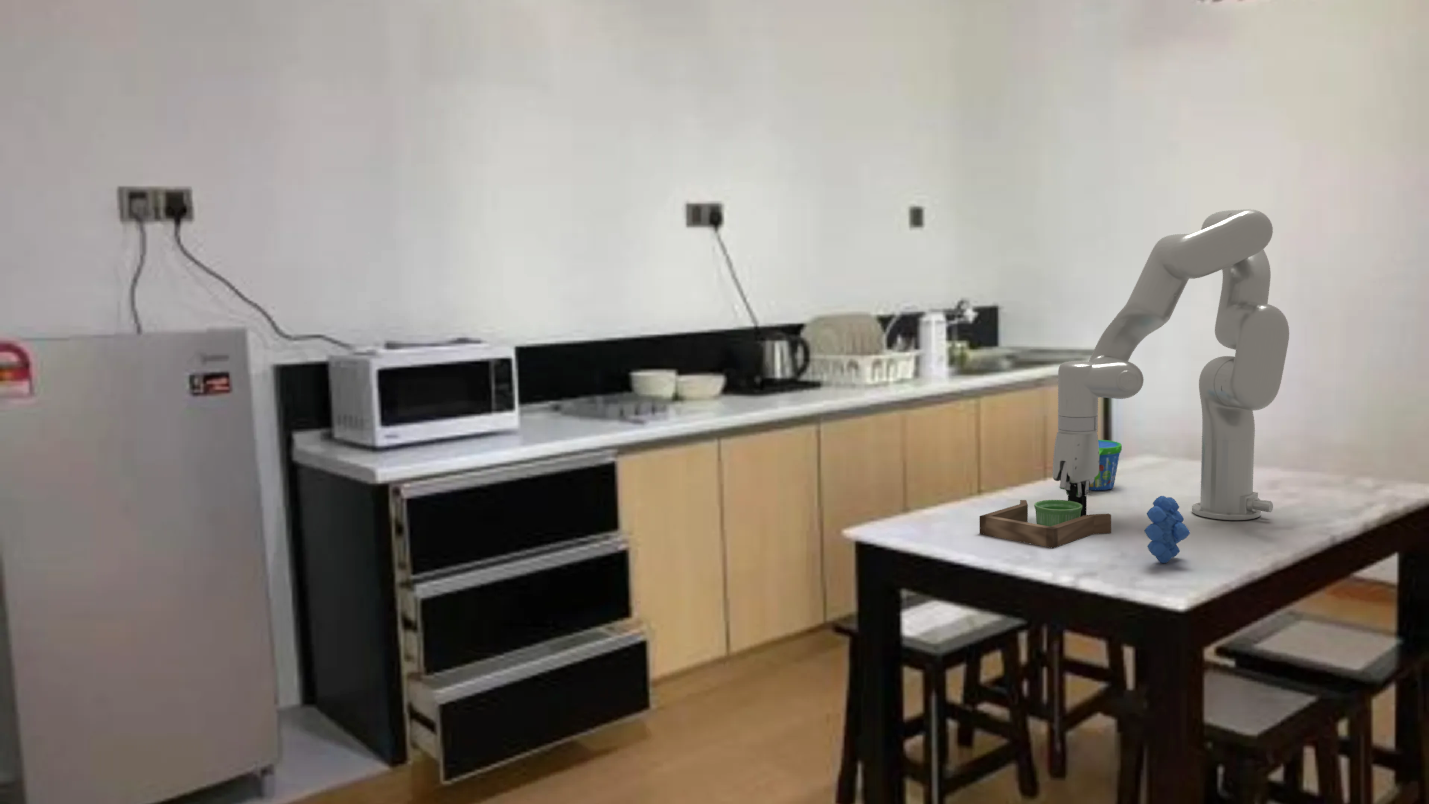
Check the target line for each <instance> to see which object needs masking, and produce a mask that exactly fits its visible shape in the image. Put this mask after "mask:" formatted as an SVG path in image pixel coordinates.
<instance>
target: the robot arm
mask: <svg viewBox="0 0 1429 804" xmlns="http://www.w3.org/2000/svg"><path fill="white" fill-rule="evenodd" d="M1273 230H1274V226H1273V224H1272V221H1271V220H1270V218H1269V217H1268V215H1266V214H1265V213H1263V212H1262V211H1259V210H1256V209H1251V208H1249V209H1238V210H1237V209H1235V210H1234V209H1231V210H1221V211H1218V212H1215V213H1212V214H1210V215H1209V216H1208V217H1206V218H1205V220H1204V221H1203V222H1202V225H1201V229H1200V230H1197V231H1195V232H1191V233H1177V234H1169V235H1166V236H1164V237H1161V238H1159V240H1158V241H1157V242H1156V243H1155V245H1154V246H1153V248H1152V249H1151V252H1150V254H1149V256H1148V258H1147V260H1146V262H1145V264H1144V267H1143V268H1142V270H1141V272H1140V275H1139V277H1138V279H1137V281H1136V283H1135V286H1134V287H1133V290H1132V292H1131V294H1130V295H1129V298H1128V299H1127V302H1126V303H1125V305H1124V306H1123V307H1122V308H1121V309H1120V311H1119V312H1118V313H1117V314H1116V316H1115V317H1114V318H1113V320H1112V321H1111V322H1110V324H1108V326H1107V327H1105V329H1104V331H1103V332H1102V334H1101V335H1100V337H1099V340H1098V341H1097V344H1096V345H1095V346H1094V349H1093V351H1092V354H1091V356H1090V358H1089V361H1087V360H1085V361H1083V360H1073V361H1065V362H1062V363H1061V364H1060V365H1059V366H1058V371H1057V374H1058V375H1057V383H1058V384H1057V388H1058V389H1057V432H1056V435H1055V436H1056V437H1055V441H1054V445H1053V446H1054V447H1053V448H1054V449H1053V458H1052V459H1053V460H1052V479H1053V480H1054V481H1056V482H1060V484H1059V489H1060V490H1064V491H1065V493H1066V496H1067V501H1073V502H1077V503H1080V504H1081V505H1082V510H1081V516H1084V515H1087V508H1088V507H1087V503H1088V502H1087V499H1088V497H1087V496H1088V495H1089V490H1088V489H1089V485H1090V484H1091V483H1093V482H1094V477H1096V476H1097V475H1098V473H1099V444H1098V440H1099V437H1098V431H1099V428H1098V427H1099V398H1105V399H1106V398H1107V399H1116V400H1125V399H1126V400H1127V399H1129V398H1132V397H1134V396H1137V395H1138V393H1139V392H1140V391H1141V390H1142V388H1143V386H1144V380H1145V379H1144V375H1143V372H1142V371H1141V370H1142V369H1140V367H1138V366H1137V365H1136V364H1134V363H1133V362H1131V361H1130V359H1131V356H1132V355H1133V353H1134V351H1135V350H1136V348H1137V347H1138V345H1139V344H1140V343H1141V342H1142V341H1143V340H1144V339H1145V338H1146V337H1147V336H1149V335H1150V334H1152V333H1154V332H1155V331H1157V330H1159V329H1160V328H1162V327H1164V325H1165V324H1167V323H1168V321H1169V320H1170V319H1171V317H1172V316H1173V313H1174V311H1175V309H1176V307H1177V304H1178V302H1179V300H1180V298H1181V295H1182V294H1183V292H1184V290H1185V288H1186V286H1187V284H1188V281H1189V280H1194V279H1201V278H1203V277H1206V276H1209V275H1212V274H1214V273H1217V272H1219V271H1222V284H1221V291H1220V296H1219V302H1218V308H1217V313H1216V318H1215V325H1214V334H1215V338H1216V341H1218V343H1220V344H1221V345H1222V346H1224V347H1225V348H1228V349H1230V350H1235V352H1234V353H1235V354H1234V356H1231V355H1223V356H1217V357H1215V358H1213V359H1211V360H1210V361H1208V362H1207V363H1206V364H1205V365H1204V367H1203V368H1202V370H1201V372H1200V375H1199V378H1198V390H1199V396H1200V397H1199V398H1200V404H1201V415H1202V416H1201V417H1202V420H1201V421H1202V425H1201V427H1202V430H1201V431H1202V433H1201V455H1200V456H1201V460H1200V462H1201V464H1200V465H1201V466H1200V500H1199V502H1197V503H1194V504H1193V505H1191V512H1192V513H1193V514H1194V515H1197V516H1199V517H1202V518H1207V519H1213V520H1220V521H1221V520H1222V521H1247V520H1254V519H1257V518H1259V517H1260V516H1261V515H1262V512H1265V513H1272V512H1273V510H1274V505H1273V502H1272V501H1271V500H1267V499H1265V500H1264V499H1260V498H1259V492H1258V491H1257V492H1256V491H1254V466H1255V465H1254V464H1255V462H1254V460H1255V458H1254V457H1255V436H1256V435H1255V434H1256V433H1255V432H1256V430H1255V425H1256V424H1255V416H1254V411H1259V410H1262V409H1265V408H1266V407H1268V406H1270V405H1271V404H1272V402H1274V400H1275V399H1276V398H1277V395H1278V393H1279V390H1280V387H1281V384H1282V379H1283V375H1284V368H1285V363H1286V357H1287V353H1288V348H1289V341H1290V327H1289V322H1288V319H1287V317H1286V315H1285V314H1284V312H1283V311H1282V310H1280V309H1279V308H1278V307H1277V306H1274V305H1272V304H1270V303H1269V296H1270V286H1271V264H1270V262H1269V259H1268V256H1267V253H1266V252H1265V248H1266V247H1267V246H1268V245H1269V243H1270V241H1271V240H1272V238H1273V233H1274V231H1273ZM1081 516H1080V517H1081Z"/></svg>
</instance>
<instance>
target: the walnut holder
mask: <svg viewBox="0 0 1429 804" xmlns="http://www.w3.org/2000/svg"><path fill="white" fill-rule="evenodd" d="M1019 501H1020V502H1019V504H1015V505H1012V506H1009V507H1006V508H1002V509H999V510H996V511H992V512H989V513H986V514H982V515H979V534H980V535H983V536H984V535H985V536H989V537H995V538H999V539H1004V540H1009V541H1015V542H1021V543H1024V542H1025V544H1029V543H1031V545H1035V546H1039V545H1041V546H1040V547H1044V546H1046V548H1049V547H1050V549H1055V548H1058V547H1060V546H1059V545H1061V546H1063V544H1064V545H1066V544H1070V543H1071V542H1075V541H1078V540H1080V539H1083V538H1086V537H1089V536H1092V535H1096V534H1097V535H1098V533H1099V534H1111V533H1112V514H1111V513H1093V514H1092V513H1091V514H1090V513H1089V514H1086V515H1084V516H1081V517H1078V518H1075V519H1072V520H1069V521H1066V522H1063V523H1060V524H1057V525H1054V526H1051V527H1050V526H1044V525H1039V524H1037V523H1034V522H1033V523H1032V522H1028V521H1029V516H1028V515H1029V514H1028V513H1029V512H1028V511H1029V508H1028V507H1029V505H1028V501H1027V499H1020V500H1019ZM1077 539H1078V540H1077ZM1057 546H1058V547H1057ZM1051 547H1052V548H1051ZM1054 547H1055V548H1054Z"/></svg>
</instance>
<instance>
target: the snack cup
mask: <svg viewBox="0 0 1429 804" xmlns="http://www.w3.org/2000/svg"><path fill="white" fill-rule="evenodd" d="M1098 444H1099V473H1098V475H1097V476H1096V477H1094V482H1093V483H1091V484H1090V485H1089V489H1088V491H1108V490H1112V489H1113V488H1114V486H1115V484H1116V483H1115V482H1116V476H1117V471H1118V465H1119V459H1120V454H1121V452H1122V450H1123V449H1122V443H1121V442H1118V441H1114V440H1107V439H1098Z"/></svg>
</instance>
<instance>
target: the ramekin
mask: <svg viewBox="0 0 1429 804" xmlns="http://www.w3.org/2000/svg"><path fill="white" fill-rule="evenodd" d="M1033 506H1034V509H1035V517H1036V518H1035V521H1036V524H1039V525H1044V526H1050V527H1051V526H1054V525H1057V524H1060V523H1063V522H1066V521H1069V520H1072V519H1075V518H1078V517H1080V516H1081V510H1082V505H1081V504H1080V503H1077V502H1073V501H1068V499H1067V500H1066V499H1045V500H1039V501H1035V503H1034V504H1033Z"/></svg>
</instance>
